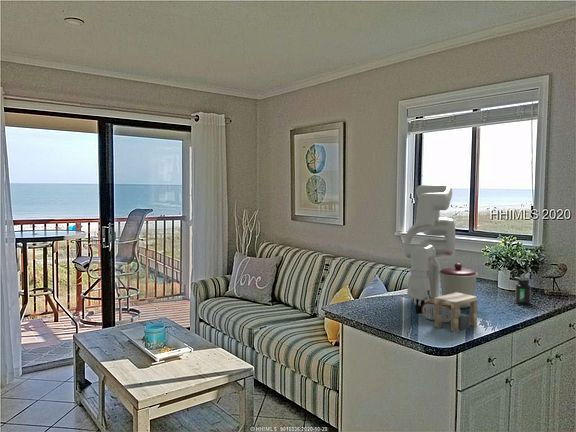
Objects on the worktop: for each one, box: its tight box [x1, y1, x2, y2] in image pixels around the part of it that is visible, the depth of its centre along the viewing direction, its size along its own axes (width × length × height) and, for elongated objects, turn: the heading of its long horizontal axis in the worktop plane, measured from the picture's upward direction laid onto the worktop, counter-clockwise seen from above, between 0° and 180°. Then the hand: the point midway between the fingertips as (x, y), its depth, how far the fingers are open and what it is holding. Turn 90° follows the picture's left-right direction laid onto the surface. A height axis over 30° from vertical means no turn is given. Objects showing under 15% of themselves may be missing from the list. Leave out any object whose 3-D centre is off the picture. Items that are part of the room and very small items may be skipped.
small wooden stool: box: [433, 292, 478, 333], centre depth 189 cm, size 10×15×12 cm, turn 125°
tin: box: [421, 301, 451, 324], centre depth 197 cm, size 15×3×8 cm, turn 49°
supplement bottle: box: [514, 278, 532, 306], centre depth 224 cm, size 7×7×12 cm
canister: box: [439, 262, 479, 309], centre depth 221 cm, size 18×18×21 cm
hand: (419, 313), depth 205 cm, fingers closed
